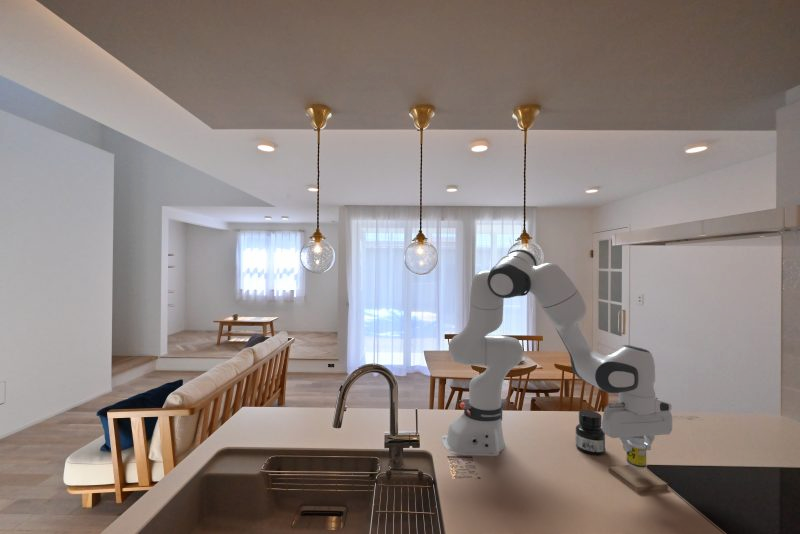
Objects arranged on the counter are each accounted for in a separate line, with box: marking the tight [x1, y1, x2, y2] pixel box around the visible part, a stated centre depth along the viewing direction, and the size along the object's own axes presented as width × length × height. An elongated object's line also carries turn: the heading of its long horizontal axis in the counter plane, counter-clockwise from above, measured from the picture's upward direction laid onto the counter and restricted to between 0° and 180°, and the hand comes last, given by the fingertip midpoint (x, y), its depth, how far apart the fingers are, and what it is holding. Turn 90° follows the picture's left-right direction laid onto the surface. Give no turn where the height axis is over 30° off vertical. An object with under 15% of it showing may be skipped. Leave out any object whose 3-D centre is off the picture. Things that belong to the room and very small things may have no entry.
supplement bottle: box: [626, 436, 647, 469], centre depth 99 cm, size 5×5×8 cm
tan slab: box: [608, 464, 669, 494], centre depth 99 cm, size 10×10×2 cm
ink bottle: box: [575, 409, 606, 456], centre depth 117 cm, size 10×9×12 cm
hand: (636, 450), depth 99 cm, fingers closed on supplement bottle, 5 cm apart
